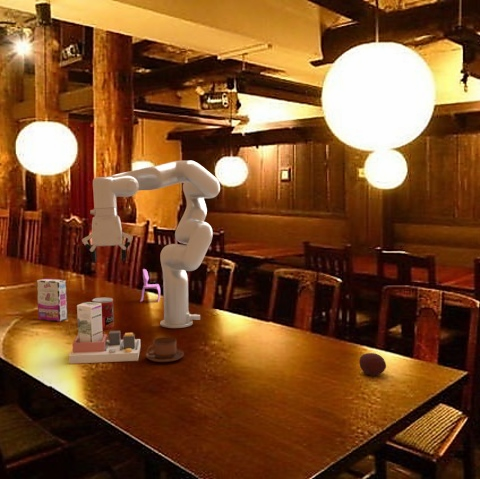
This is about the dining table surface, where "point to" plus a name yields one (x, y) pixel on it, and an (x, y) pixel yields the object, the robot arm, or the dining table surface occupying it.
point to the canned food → (106, 312)
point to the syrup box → (89, 322)
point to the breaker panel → (102, 352)
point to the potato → (372, 364)
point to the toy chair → (149, 285)
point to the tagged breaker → (129, 340)
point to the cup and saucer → (164, 350)
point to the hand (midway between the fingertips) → (109, 261)
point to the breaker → (114, 338)
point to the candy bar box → (52, 299)
